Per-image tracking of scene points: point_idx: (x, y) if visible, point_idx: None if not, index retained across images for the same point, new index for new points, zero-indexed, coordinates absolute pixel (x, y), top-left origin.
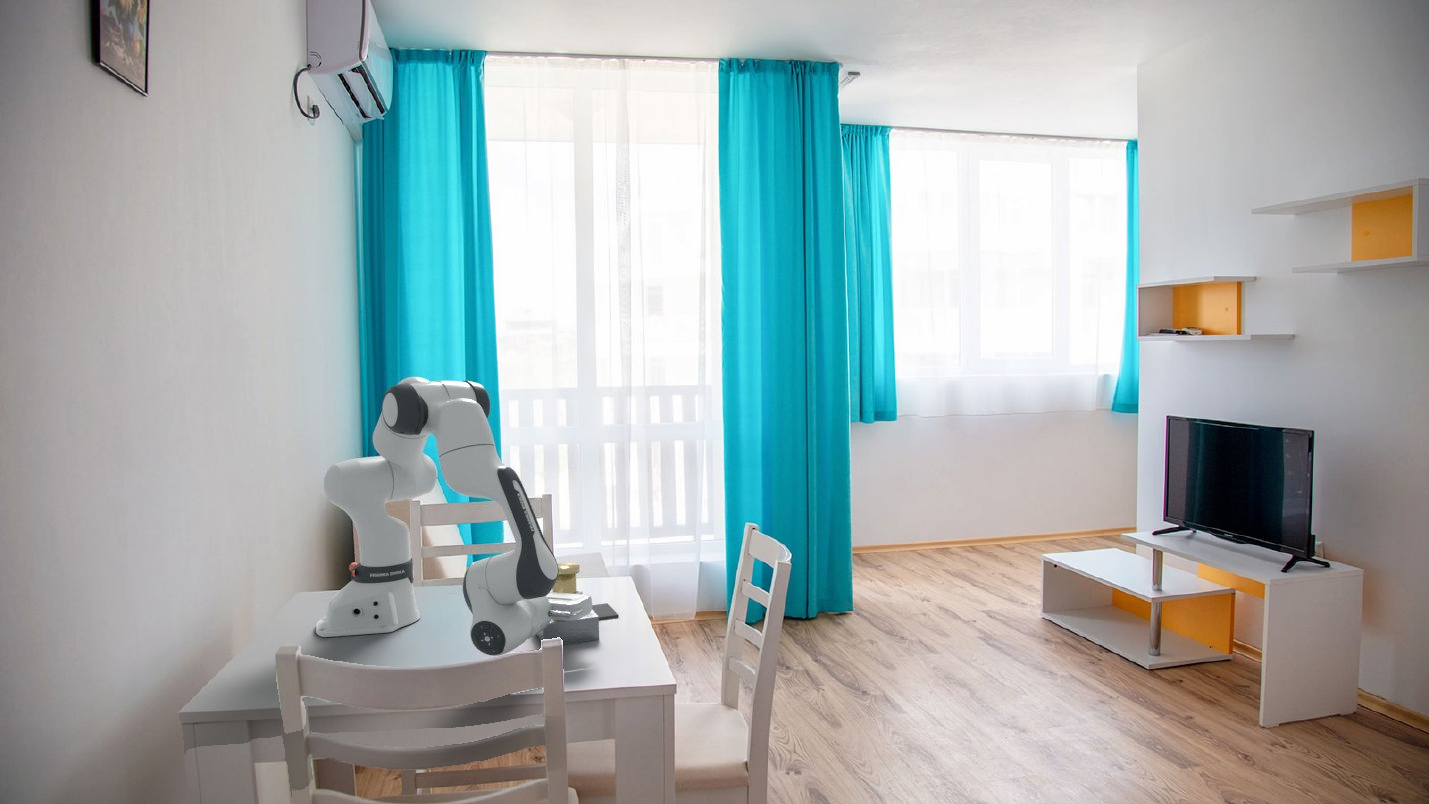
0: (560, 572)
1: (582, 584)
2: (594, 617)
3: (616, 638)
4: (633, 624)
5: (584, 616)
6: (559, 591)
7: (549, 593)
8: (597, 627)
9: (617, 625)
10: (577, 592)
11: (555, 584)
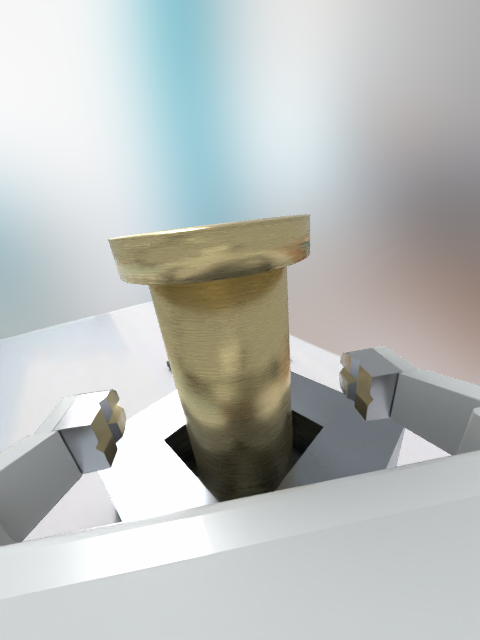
0: (250, 243)
1: (152, 309)
2: (402, 432)
3: (413, 445)
4: (342, 366)
5: (356, 440)
6: (237, 378)
7: (362, 632)
8: (398, 455)
9: (318, 380)
10: (385, 362)
11: (201, 343)
